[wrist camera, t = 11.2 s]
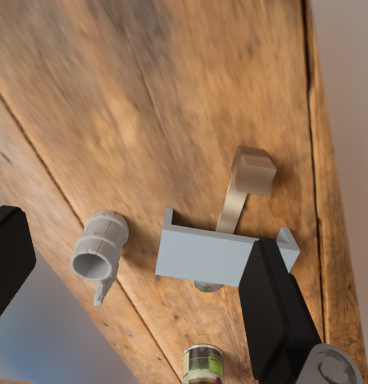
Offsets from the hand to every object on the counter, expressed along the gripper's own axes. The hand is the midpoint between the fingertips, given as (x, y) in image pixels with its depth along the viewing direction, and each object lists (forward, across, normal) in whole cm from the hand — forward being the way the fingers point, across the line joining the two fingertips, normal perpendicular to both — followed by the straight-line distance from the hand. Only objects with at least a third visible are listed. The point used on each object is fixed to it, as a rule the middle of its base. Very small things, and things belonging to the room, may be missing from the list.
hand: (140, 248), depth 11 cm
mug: (+29, +9, +25) cm, 39 cm away
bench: (+29, -11, +23) cm, 38 cm away
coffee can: (+28, -14, +63) cm, 70 cm away
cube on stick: (+29, -11, +15) cm, 34 cm away
